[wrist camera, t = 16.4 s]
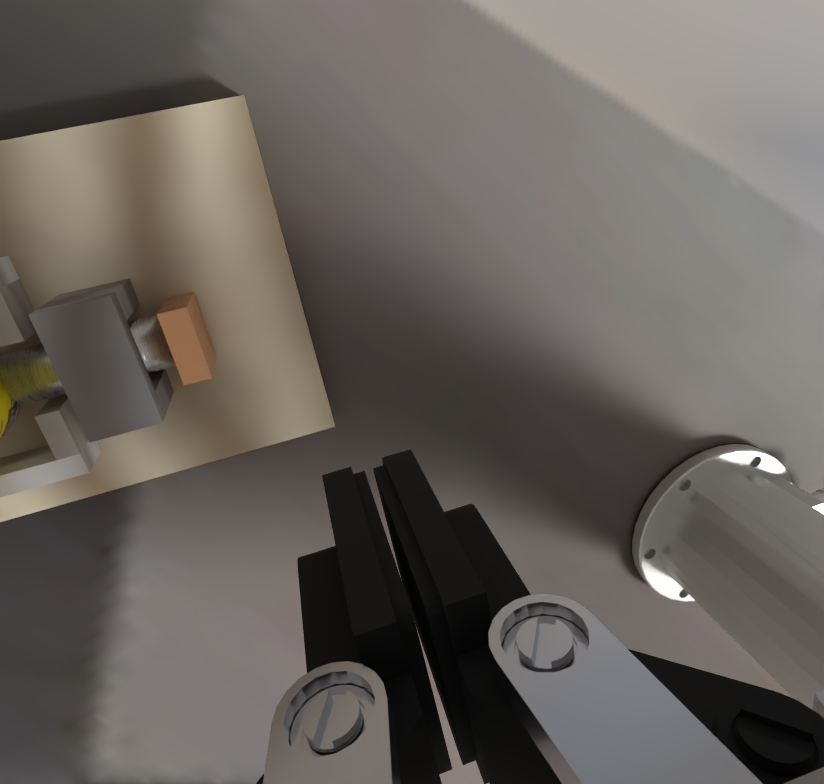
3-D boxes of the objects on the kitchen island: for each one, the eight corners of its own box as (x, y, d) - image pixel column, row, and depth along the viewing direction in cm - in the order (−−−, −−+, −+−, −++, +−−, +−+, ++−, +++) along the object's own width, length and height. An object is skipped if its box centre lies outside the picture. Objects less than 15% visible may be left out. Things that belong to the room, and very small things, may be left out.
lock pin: (193, 291, 26) (186, 307, 24) (216, 355, 28) (212, 378, 25) (8, 335, 25) (-23, 357, 22) (41, 400, 26) (15, 429, 24)
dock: (244, 97, 25) (242, 83, 21) (332, 417, 32) (345, 459, 27) (-394, 218, 22) (-565, 233, 17) (-147, 553, 28) (-224, 627, 24)
